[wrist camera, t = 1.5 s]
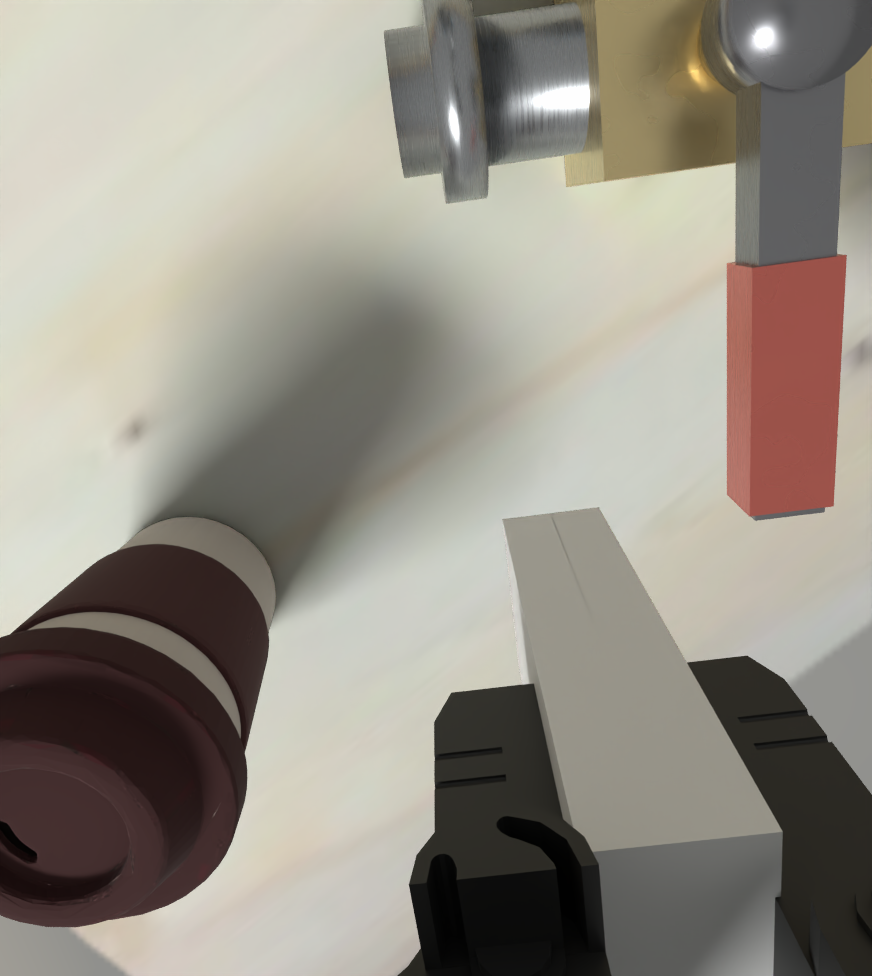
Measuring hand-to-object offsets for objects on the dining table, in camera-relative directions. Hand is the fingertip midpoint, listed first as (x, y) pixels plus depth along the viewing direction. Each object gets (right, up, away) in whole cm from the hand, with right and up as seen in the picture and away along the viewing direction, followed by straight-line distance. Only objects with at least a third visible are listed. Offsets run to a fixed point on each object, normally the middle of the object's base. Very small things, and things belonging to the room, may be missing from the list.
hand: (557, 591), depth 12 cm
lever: (+7, +8, +9) cm, 15 cm away
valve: (+7, +17, +16) cm, 24 cm away
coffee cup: (-13, -3, +23) cm, 26 cm away
